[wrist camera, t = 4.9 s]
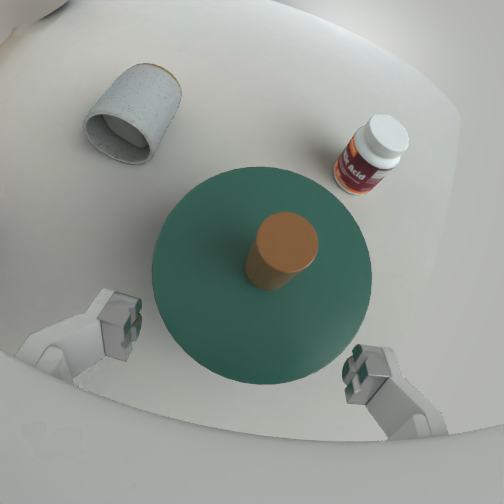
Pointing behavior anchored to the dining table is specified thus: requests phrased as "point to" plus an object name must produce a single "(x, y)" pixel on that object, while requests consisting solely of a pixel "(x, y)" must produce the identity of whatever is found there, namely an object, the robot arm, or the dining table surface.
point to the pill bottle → (370, 154)
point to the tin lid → (261, 275)
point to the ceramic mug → (134, 113)
